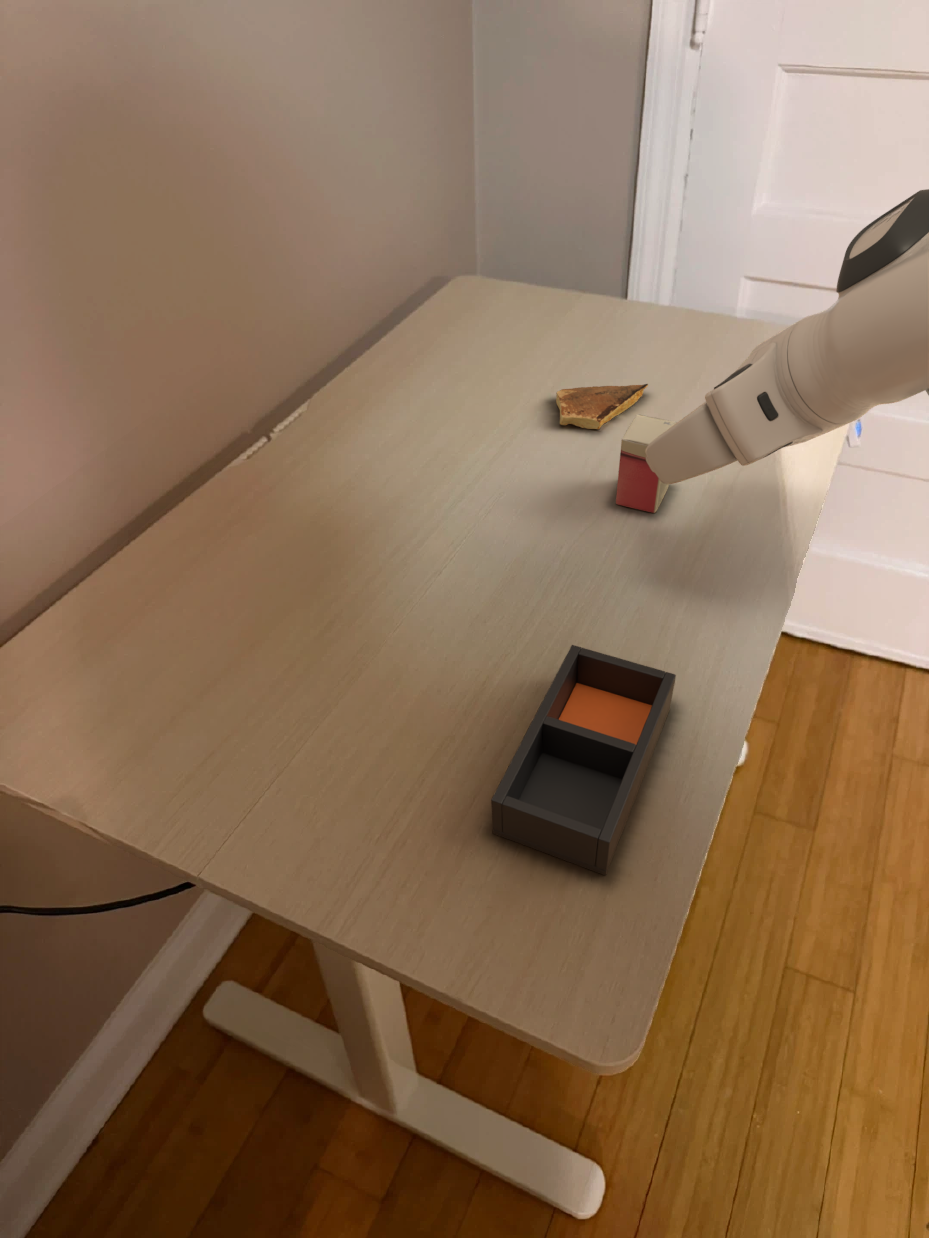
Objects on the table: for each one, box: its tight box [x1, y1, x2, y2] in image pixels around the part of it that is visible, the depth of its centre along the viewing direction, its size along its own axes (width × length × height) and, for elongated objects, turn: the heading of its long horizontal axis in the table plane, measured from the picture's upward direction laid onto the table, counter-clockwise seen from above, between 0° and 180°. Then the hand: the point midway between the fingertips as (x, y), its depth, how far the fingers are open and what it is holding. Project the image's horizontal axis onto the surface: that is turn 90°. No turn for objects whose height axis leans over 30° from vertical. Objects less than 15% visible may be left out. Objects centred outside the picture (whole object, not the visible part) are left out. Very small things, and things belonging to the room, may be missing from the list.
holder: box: [490, 644, 677, 876], centre depth 65 cm, size 8×16×4 cm, turn 155°
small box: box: [615, 414, 678, 514], centre depth 88 cm, size 5×4×8 cm
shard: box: [555, 383, 649, 430], centre depth 102 cm, size 11×8×2 cm
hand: (686, 441), depth 83 cm, fingers open, 8 cm apart
